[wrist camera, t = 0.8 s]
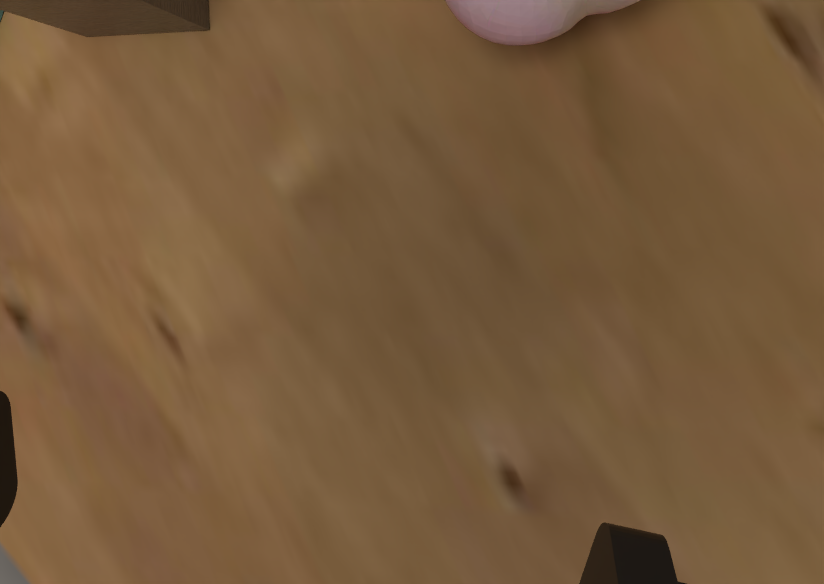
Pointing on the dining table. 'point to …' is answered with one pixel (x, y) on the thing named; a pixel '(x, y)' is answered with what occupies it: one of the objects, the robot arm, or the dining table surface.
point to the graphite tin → (114, 15)
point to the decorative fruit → (527, 17)
